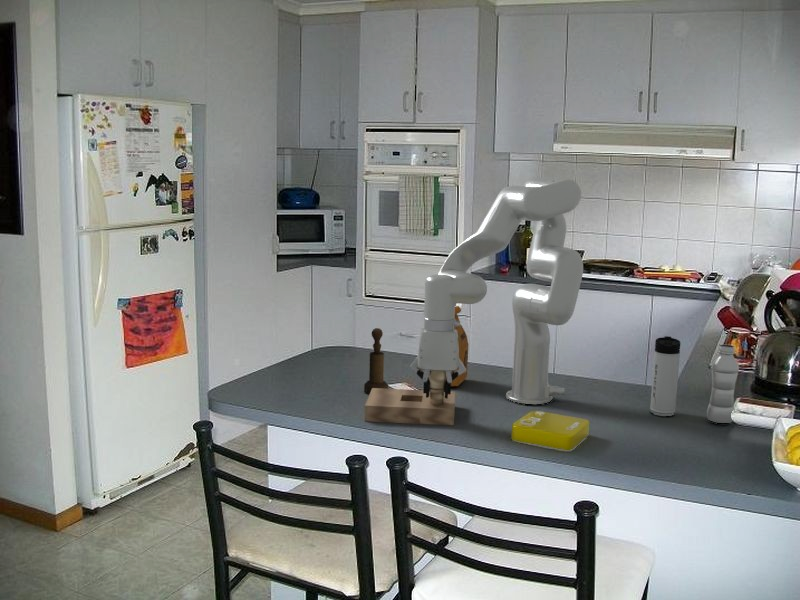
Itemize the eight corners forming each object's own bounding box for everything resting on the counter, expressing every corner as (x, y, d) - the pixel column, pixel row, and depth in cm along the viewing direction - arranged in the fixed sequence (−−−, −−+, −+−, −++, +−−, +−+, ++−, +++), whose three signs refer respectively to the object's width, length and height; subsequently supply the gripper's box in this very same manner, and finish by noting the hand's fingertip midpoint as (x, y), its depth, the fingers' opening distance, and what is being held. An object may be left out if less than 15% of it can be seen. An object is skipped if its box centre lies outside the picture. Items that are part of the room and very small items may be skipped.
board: (454, 406, 230) (455, 391, 229) (453, 425, 214) (454, 409, 213) (372, 402, 231) (372, 387, 231) (364, 421, 216) (364, 405, 215)
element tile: (569, 455, 196) (571, 435, 195) (508, 442, 203) (509, 423, 203) (590, 437, 209) (592, 418, 208) (532, 426, 216) (533, 407, 215)
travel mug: (674, 411, 230) (680, 337, 226) (675, 418, 224) (681, 342, 220) (649, 408, 231) (655, 335, 228) (649, 416, 225) (655, 340, 222)
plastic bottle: (700, 420, 222) (706, 344, 219) (721, 418, 225) (728, 342, 221) (717, 428, 216) (724, 349, 213) (739, 425, 219) (746, 348, 215)
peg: (445, 400, 220) (446, 362, 219) (444, 405, 216) (446, 366, 215) (428, 400, 221) (430, 361, 219) (428, 404, 217) (429, 365, 215)
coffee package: (472, 380, 256) (475, 306, 252) (458, 390, 245) (461, 313, 241) (441, 376, 260) (443, 303, 256) (425, 386, 249) (428, 310, 245)
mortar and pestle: (389, 389, 244) (390, 326, 241) (386, 396, 238) (388, 331, 235) (365, 388, 245) (366, 325, 242) (362, 394, 238) (363, 330, 235)
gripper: (473, 323, 218) (470, 394, 221) (406, 320, 219) (404, 391, 223) (473, 329, 211) (470, 402, 214) (404, 326, 212) (402, 399, 215)
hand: (436, 395), depth 218 cm, fingers closed on peg, 4 cm apart
